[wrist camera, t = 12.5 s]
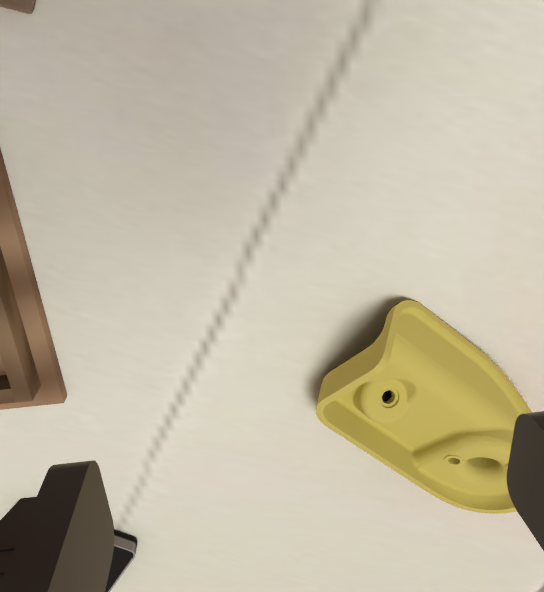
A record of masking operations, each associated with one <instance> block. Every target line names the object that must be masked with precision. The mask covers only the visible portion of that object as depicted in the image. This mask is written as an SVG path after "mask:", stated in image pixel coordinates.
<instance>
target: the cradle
mask: <svg viewBox="0 0 544 592" xmlns="http://www.w3.org/2000/svg"><path fill="white" fill-rule="evenodd" d="M66 397H67V393H66V389H65V385H64V382H63V378H62V374H61V371H60V367H59V363H58V359H57V356H56V352H55V348H54V345H53V341H52V337H51V334H50V330H49V326H48V323H47V319H46V315H45V312H44V308H43V304H42V300H41V297H40V293H39V289H38V286H37V282H36V278H35V275H34V271H33V267H32V264H31V260H30V256H29V253H28V249H27V245H26V241H25V238H24V234H23V230H22V227H21V223H20V219H19V216H18V212H17V208H16V205H15V201H14V197H13V194H12V190H11V186H10V182H9V179H8V175H7V171H6V168H5V164H4V160H3V157H2V153H1V149H0V410H1V409H10V408H20V407H29V406H39V405H49V404H58V403H64V401H65V399H66Z"/></svg>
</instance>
